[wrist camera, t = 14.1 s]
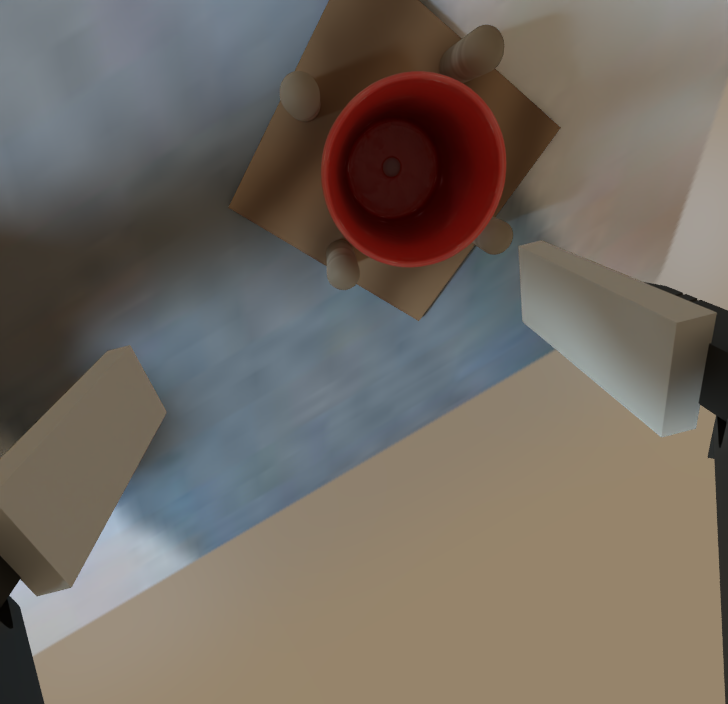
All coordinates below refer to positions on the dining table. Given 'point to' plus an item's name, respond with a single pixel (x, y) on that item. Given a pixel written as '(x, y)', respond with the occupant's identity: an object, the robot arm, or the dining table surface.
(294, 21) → the dining table surface
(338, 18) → the plant stand
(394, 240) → the flower pot
